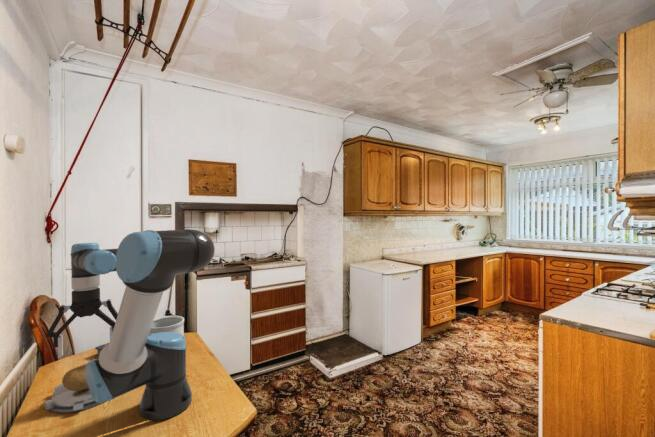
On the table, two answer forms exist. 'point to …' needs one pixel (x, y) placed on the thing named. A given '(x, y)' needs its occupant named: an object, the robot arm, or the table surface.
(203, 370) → the table surface
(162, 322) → the utensil holder
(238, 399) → the table surface
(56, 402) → the sprocket
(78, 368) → the potato
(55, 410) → the base plate
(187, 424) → the table surface
